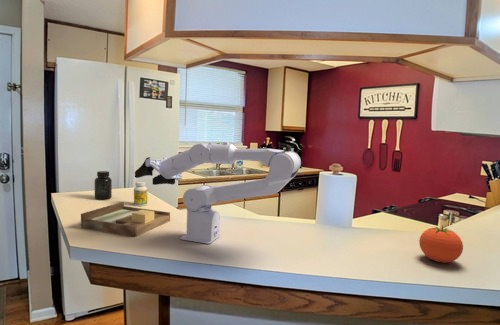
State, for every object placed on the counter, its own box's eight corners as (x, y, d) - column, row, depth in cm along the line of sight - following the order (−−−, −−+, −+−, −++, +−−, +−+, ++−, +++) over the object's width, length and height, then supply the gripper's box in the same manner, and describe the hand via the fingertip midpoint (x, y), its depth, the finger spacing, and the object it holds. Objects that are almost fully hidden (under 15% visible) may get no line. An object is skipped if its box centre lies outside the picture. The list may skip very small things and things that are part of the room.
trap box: (169, 220, 113) (170, 208, 113) (135, 237, 95) (135, 222, 95) (122, 213, 120) (122, 201, 119) (81, 227, 101) (80, 213, 101)
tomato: (445, 254, 93) (448, 220, 92) (470, 269, 83) (474, 232, 82) (410, 253, 93) (413, 219, 92) (431, 268, 82) (435, 230, 81)
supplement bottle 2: (148, 203, 137) (148, 181, 136) (146, 206, 132) (146, 183, 131) (135, 203, 136) (135, 181, 135) (132, 206, 131) (132, 183, 130)
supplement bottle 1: (98, 196, 145) (98, 170, 144) (113, 197, 146) (113, 171, 145) (91, 200, 139) (91, 172, 137) (108, 200, 139) (108, 173, 138)
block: (154, 219, 107) (154, 211, 107) (144, 223, 102) (145, 214, 102) (141, 217, 109) (141, 209, 108) (131, 221, 104) (131, 213, 104)
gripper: (192, 160, 106) (160, 174, 110) (161, 143, 94) (127, 159, 98) (193, 180, 102) (160, 193, 107) (162, 164, 90) (126, 180, 95)
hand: (144, 178), depth 103 cm, fingers open, 7 cm apart
